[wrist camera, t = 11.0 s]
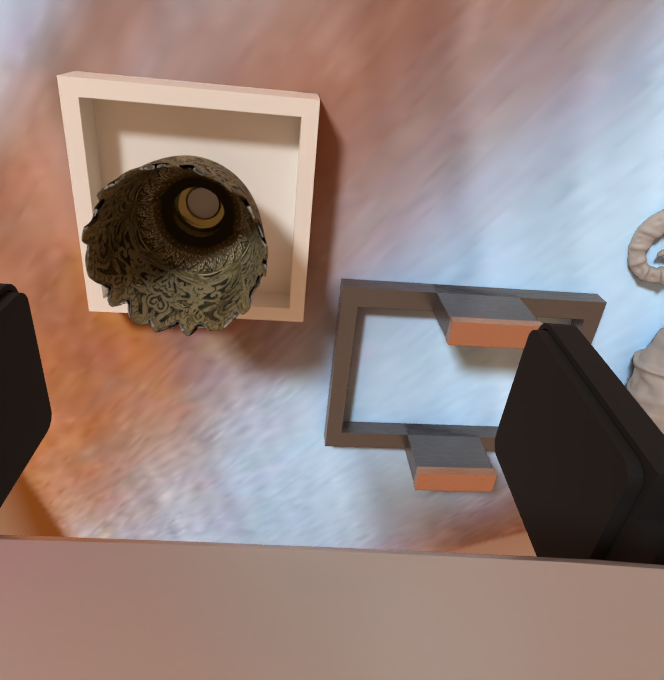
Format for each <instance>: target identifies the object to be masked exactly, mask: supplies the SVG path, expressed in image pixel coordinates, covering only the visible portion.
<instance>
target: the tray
mask: <svg viewBox="0 0 664 680" xmlns="http://www.w3.org/2000/svg"><path fill="white" fill-rule="evenodd" d="M57 80H58V87H59V95H60V102H61V109H62V117H63V124H64V131H65V138H66V146H67V153H68V160H69V167H70V175H71V182H72V189H73V196H74V204H75V211H76V218H77V225H78V233H79V240H80V247H81V255H82V262H83V269H84V276H85V284H86V291H87V298H88V305H89V311H100V312H119V313H128V304H127V303H126V304H122V303H121V304H122V305H121V306H115V307H111V306H110V305H109V303H108V301H107V294H108V289H107V288H105V287H104V286H103V285H101V284H98V283H96V282H94V281H93V280H91V279H90V278H89V277H88V275H87V270H86V265H85V254H86V250H87V245H86V244H84V243H83V242H82V232H83V228H84V226H86V225H87V224H88V223H89V222H90V221H91V220H92V217H93V214H94V208H95V206H96V205H97V204H98V202H99V201H98V197H97V196H96V195H97V193H98V192H99V191H100V190H101V189H102V188H103V187H104V186H106V185H107V184H109V183H110V182H112V181H114V180H115V179H116V178H118V177H119V176H120V175H122V174H123V173H125V172H127V171H129V170H131V169H134V168H138V167H141V166H143V165H145V164H147V163H150V162H153V161H156V160H159V159H162V158H166V157H171V156H181V155H189V156H198V157H202V158H206V159H209V160H212V161H214V162H217V163H219V164H221V165H222V166H224V167H226V168H227V169H229V170H230V171H231V172H233V173H234V174H235V175H236V176H237V177H238V178H239V179H240V180H241V181H242V182H243V183H244V184H245V186H246V187H247V188H248V190H249V191H250V193H251V195H252V196H253V198H254V200H255V203H256V205H257V208H258V210H259V213H260V217H261V221H262V225H263V230H264V236H265V239H266V242H267V247H268V258H267V273H266V277H264V276H262V278H261V283H260V286H259V287H258V288H257V289H256V290H255V292H254V294H253V298H252V305H251V308H250V309H249V311H248V312H247V313H245V314H244V315H242V314H239V315H238V317H237V318H236V319H254V320H273V321H292V322H303V317H304V304H305V291H306V278H307V264H308V251H309V238H310V225H311V212H312V199H313V186H314V173H315V160H316V147H317V133H318V120H319V107H320V98H319V96H318V94H316V93H305V92H294V91H284V90H273V89H263V88H252V87H241V86H231V85H220V84H209V83H199V82H188V81H178V80H167V79H156V78H146V77H135V76H124V75H114V74H103V73H93V72H82V71H74V72H69V73H65V74H61V75H57ZM188 207H189V209H190V211H191V212H192V213H193V214H194V215H195V216H197V217H200V218H210V217H212V216H213V215H215V214H216V212H217V211H218V208H219V201H218V198H217V196H216V195H215V194H214V193H212V192H211V191H209V190H207V189H204V188H198V189H195V190H193V191H192V192H191V193H190V195H189V197H188ZM124 303H125V302H124Z"/></svg>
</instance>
